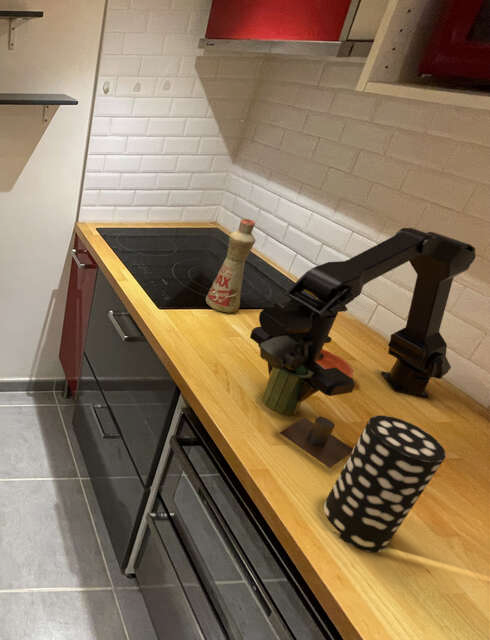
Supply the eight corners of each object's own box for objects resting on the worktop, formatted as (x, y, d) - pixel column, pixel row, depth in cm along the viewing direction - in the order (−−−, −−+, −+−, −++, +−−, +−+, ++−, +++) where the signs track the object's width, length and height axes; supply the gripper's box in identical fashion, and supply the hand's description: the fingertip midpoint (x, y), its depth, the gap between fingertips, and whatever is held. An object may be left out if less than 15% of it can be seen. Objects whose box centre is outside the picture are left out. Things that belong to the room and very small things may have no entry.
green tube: (260, 392, 100) (276, 353, 96) (295, 404, 97) (312, 364, 93) (259, 409, 96) (275, 369, 91) (295, 423, 92) (314, 382, 88)
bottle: (245, 314, 129) (275, 225, 117) (213, 314, 129) (240, 225, 118) (229, 298, 137) (255, 214, 125) (199, 298, 137) (223, 213, 125)
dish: (278, 351, 114) (282, 340, 112) (335, 362, 110) (340, 351, 109) (294, 383, 103) (299, 371, 102) (357, 396, 100) (363, 384, 98)
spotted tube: (399, 543, 70) (460, 454, 62) (362, 559, 68) (420, 468, 60) (344, 496, 78) (393, 410, 69) (309, 509, 75) (354, 421, 67)
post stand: (302, 420, 93) (312, 399, 91) (353, 453, 86) (365, 430, 83) (277, 436, 89) (287, 413, 87) (328, 471, 82) (340, 448, 80)
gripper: (239, 307, 95) (220, 365, 101) (321, 364, 78) (292, 429, 85) (282, 301, 97) (261, 359, 103) (371, 356, 80) (339, 420, 87)
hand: (285, 389), depth 94 cm, fingers closed on green tube, 6 cm apart
